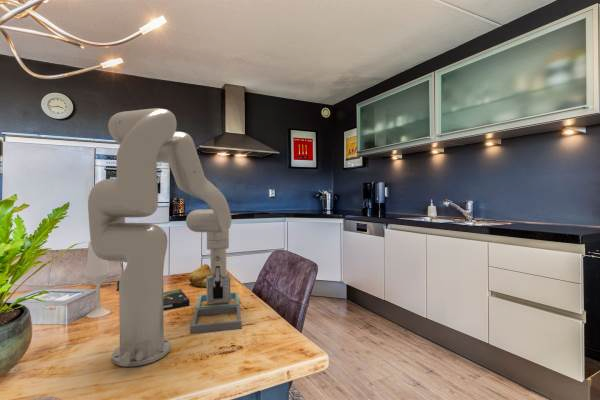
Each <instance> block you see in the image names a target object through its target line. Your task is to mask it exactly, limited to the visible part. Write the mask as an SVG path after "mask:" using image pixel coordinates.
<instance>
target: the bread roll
mask: <svg viewBox="0 0 600 400" xmlns="http://www.w3.org/2000/svg"><path fill="white" fill-rule="evenodd" d="M207 276H211V266H210V265H208V264H207V263H205V264H202V265H201V266H199V268H198V269H195V270H193V271H192V272H191V273H190V275H189V277H188V279H189V280H188V281H189V282H190V283H191V284H192V285H194V286H195V287H202V288H205V287H206V277H207Z"/></svg>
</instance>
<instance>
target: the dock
mask: <svg viewBox="0 0 600 400" xmlns="http://www.w3.org/2000/svg"><path fill="white" fill-rule="evenodd" d="M230 292H231V291H230ZM197 298H198V299H197V301H196V306H195V309H194V312H193V315H192V319H191V323H190V325H189V326H190V327H189V330H190V332H189V334H199V333H209V332H219V331H221V332H222V331H228V330H229V331H230V330H240V329H242V315H241V307H240V298H239V291H236V292H235V291H233V292H231V300H232V299H233V300H235V303H228V304H227V303H226V304H214V305H202V302H203V301H206V302H207V293H205V294H198V297H197ZM201 305H202V306H201ZM224 314H236V320H230V321H221V322H219V321H217V322H210V323H208V322H207V323H198V324H197V322H198V318H199V317H202V316H215V315H224Z"/></svg>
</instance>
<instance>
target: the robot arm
mask: <svg viewBox="0 0 600 400" xmlns="http://www.w3.org/2000/svg"><path fill="white" fill-rule="evenodd" d="M107 124H108V125H107V126H108V127H107V128H108V132H109V134H110V136H111V137H112V139H113V140H114V141H115V142H116V143H117V144H118V145H119V147H118V149H117V153H116V161H115V162H116V178H107V179H103V180H100V181H98V182H96V183H95V184H94V185H93V187H92V188H91V190H89V194H88V198H87V209H88V210H87V211H88V213H87V214H88V222H89V223H88V227H89V239H90V240H91V246H92V249H93V251H94V253H95V255H96V256H97V257H99V258H100V259H103V260H107V261H109V262H118V263H119V262H121V263H123V262H124V263H126V266H125V268H124V269H123V272H122V274H121V276H120V279H119V281H120V282H119V291H118V293H119V295H118V297H119V298H118V299H119V300H118V301H119V305H118V307H119V309H118V310H119V311H118V312H119V314H118V315H119V316H118V317H119V346H118V347H117V348H115V350H114V351H113V353H112V355H111V360H112V362H113V364H114V365H116V366H120V367H124V368H125V367H126V368H129V367H139V366H140V367H141V366H144V365H148V364H152V363H154V362H156V361H158V360H160V359H162V358H163V357H165V356H166V355H167V354H168V353H169V352H170V351H171V346H172V345H171V342H170V340H169V339H166V338H165V336H164V335H165V333H164V329H165V327H164V326H165V325H164V321H165V320H164V318H165V317H164V315H165V314H164V308H163V293H164V270H165V269H164V265H165V259H166V254H167V250H168V249H167V247H168V236H167V233H166V231H165V230H164V229H163V228H162V227H161V226H159V225H157V224H155V223H148V222H126V218H147V217H150V216H152V215H154V214H155V213H156V211H157V209H158V206H159V191H158V190H159V188H158V187H159V185H158V173H157V171H158V170H157V167H158V166H157V165H158V163H161V162H162V163H163V162H165V163H166V162H167V163H168V165H169V167H170V170H171V173H172V175H173V178H174V181H175V183H176V186H177V188H178V189H180V190H181V191H182V192H184V193H187V194H189V195H191V196H194V197H196V198H197V199H200V200H202V201H203V202H205V203H206V204H207V205H208V206H209V207H210V208H207V209H201V208H200V209H198V208H197V209H194V210H191V211H190V212H189V213H188V214H187V216H186V219H185V223H186V227H187V229H189V230H190V231H192V232H194V233H206V250H209V251H210V252H209V254H210V269H211V276H212V278H213V279H214V287H213V299H222V298H223V286H222V277H224V278H226V274H227V249H230V244H229V243H230V242H229V241H230V239H229V237H230V234H229V233H230V230H229V229H230V228H231V226H232V214H231V210H230V207H229V204H228V201H227V198H226V197H225V195H224V194H223V193H222V192H221V191H220V190H219V189H218V188H217V186H215V185H214V184H213V183H212V182H211V181H209V180H208V179H207V177H206V176H205V173H204V170H203V168H202V163H201V159H200V158H199V155H198V151H197V149H196V146H195V142H194V139H193V138H192V136H191V135H190V134H189V133H187V132H183V131H176V130H177V126H178V125H177V119H176V116H175V114H174V113H173V112H172V111H170V110H169V109H166V108H159V107H157V108H155V107H154V108H145V109H138V110H137V109H136V110H129V111H128V110H127V111H121V112H116V113H115V114H114V115H112V116H111V117H110V118H109V120H108V123H107ZM90 240H89V241H90ZM215 276H216V278H215ZM219 276H221V278H219ZM215 280H216V281H215Z"/></svg>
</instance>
